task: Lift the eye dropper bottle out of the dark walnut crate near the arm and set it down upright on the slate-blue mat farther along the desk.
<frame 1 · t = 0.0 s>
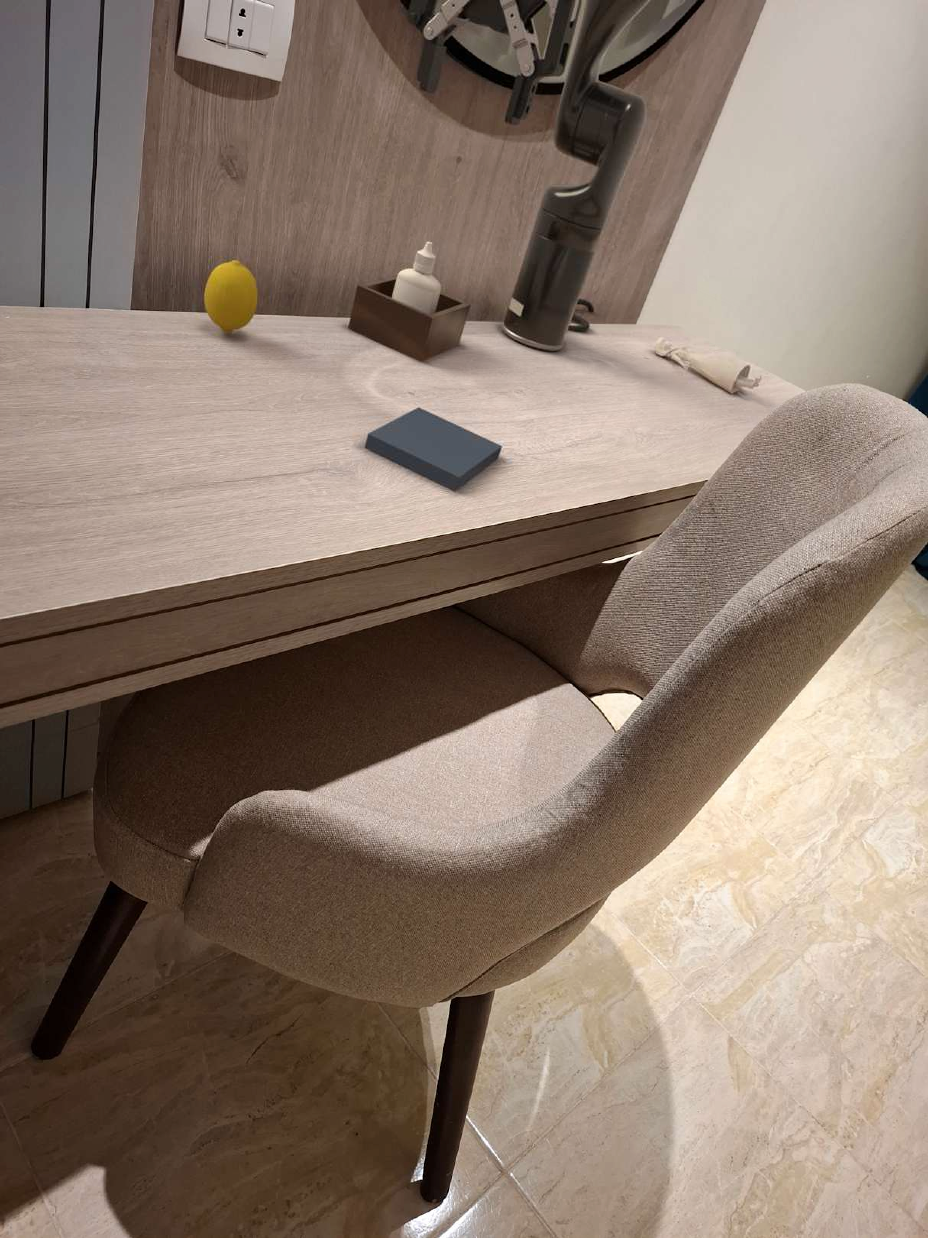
hand: (468, 107, 80), 29 cm above the table, tool pointing down, fingers open, 8 cm apart
mat: (433, 453, 90), on the table
crate: (405, 336, 117), on the table
woman figurine: (699, 375, 144), on the table
eye dropper bottle: (404, 338, 117), resting in crate
lemon: (225, 334, 100), on the table
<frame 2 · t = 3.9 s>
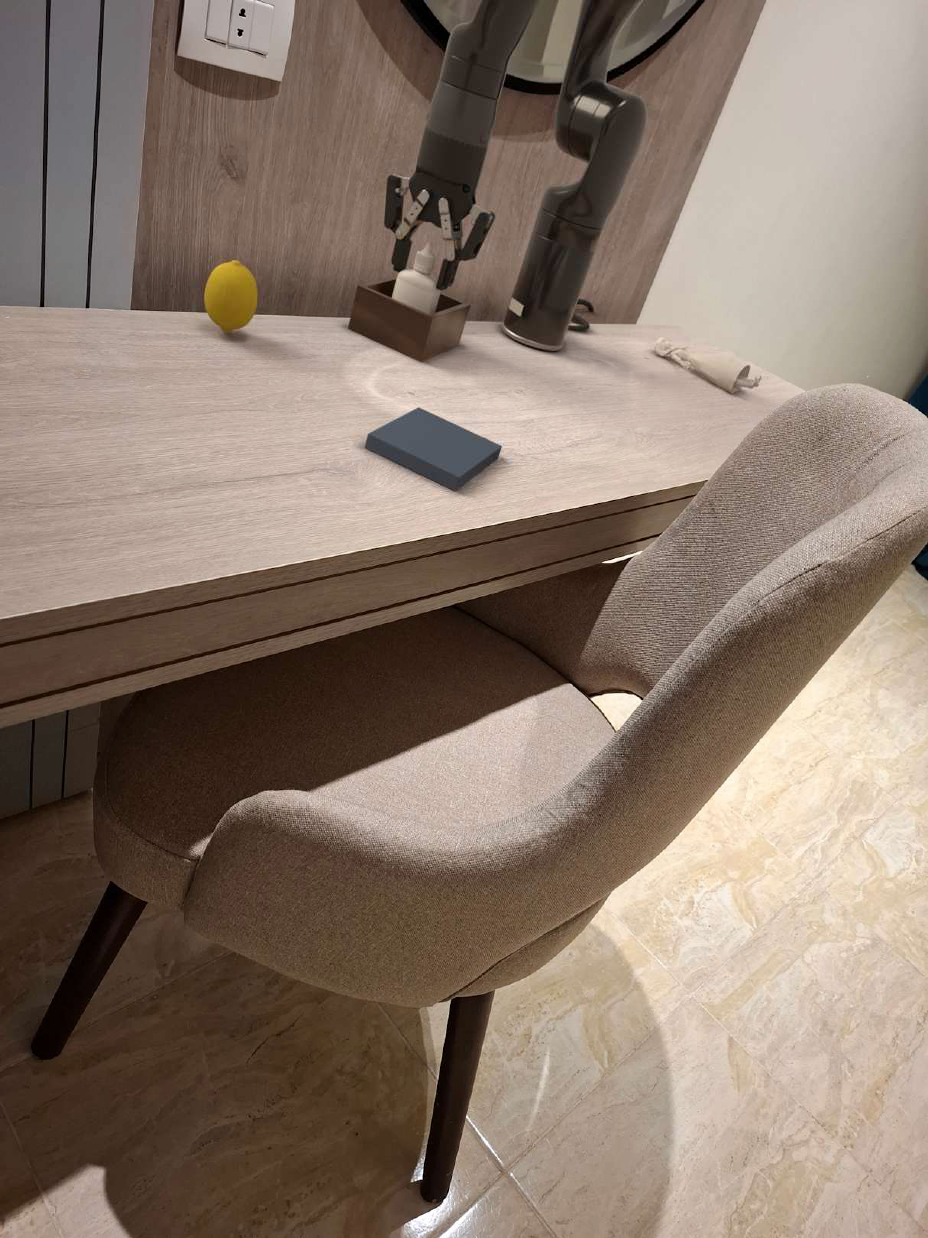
hand: (419, 279, 113), 8 cm above the table, tool pointing down, fingers closed on eye dropper bottle, 5 cm apart
eye dropper bottle: (404, 338, 117), resting in crate, touching gripper
everything else where it was.
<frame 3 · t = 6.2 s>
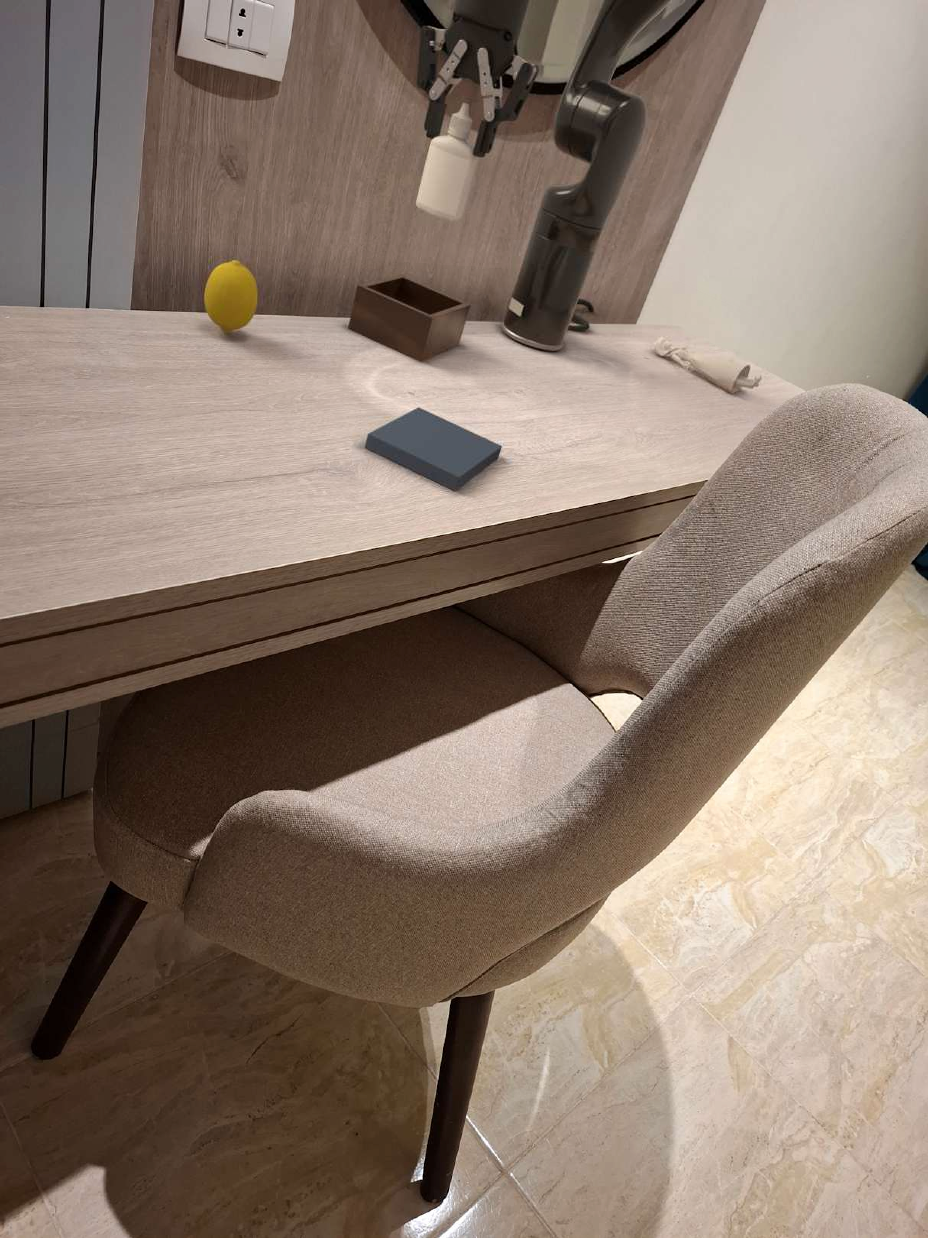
hand: (455, 146, 104), 23 cm above the table, tool pointing down, fingers closed on eye dropper bottle, 5 cm apart
eye dropper bottle: (437, 215, 108), point 15 cm above the table, touching gripper
everything else where it was.
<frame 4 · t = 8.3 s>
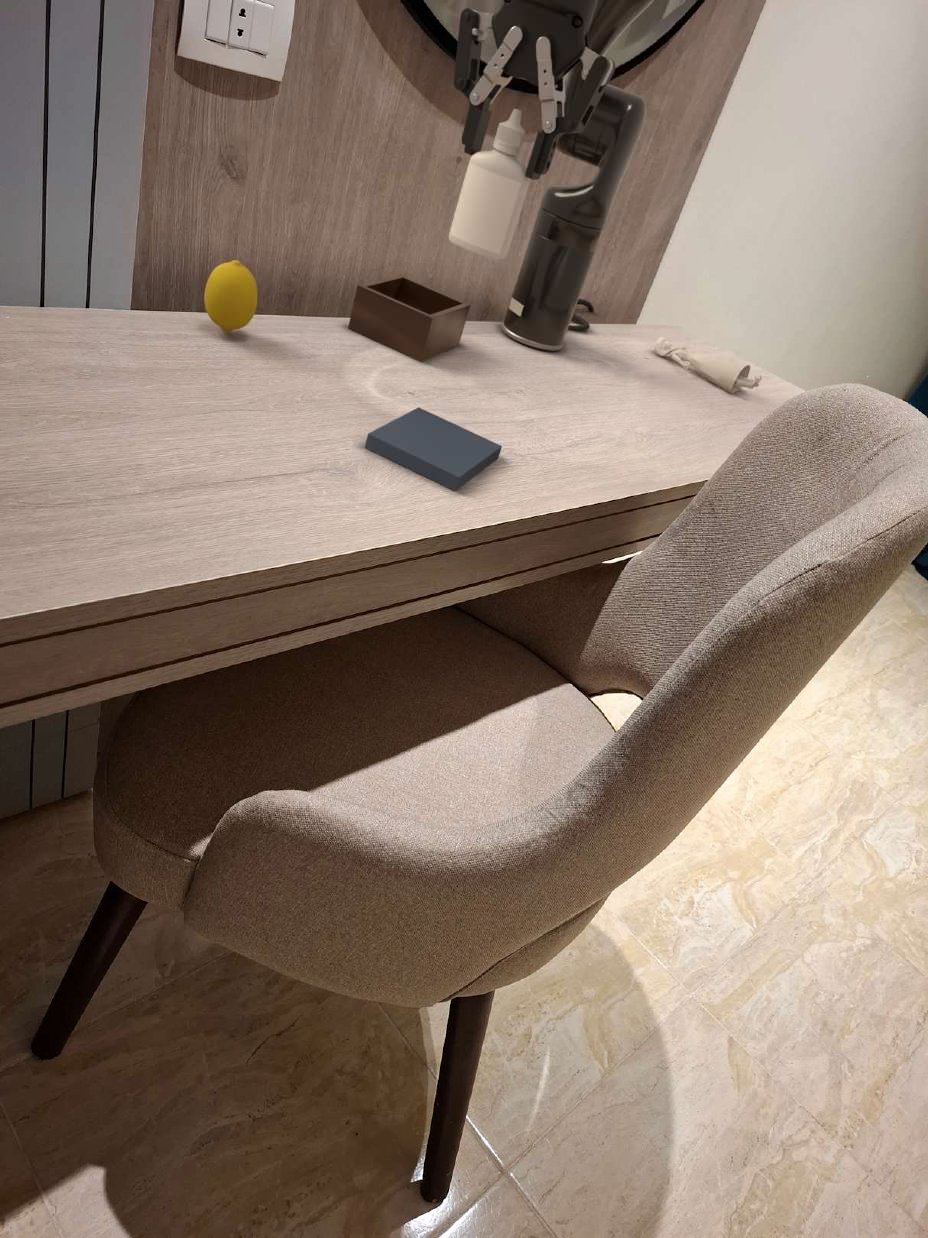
hand: (501, 165, 80), 26 cm above the table, tool pointing down, fingers closed on eye dropper bottle, 5 cm apart
eye dropper bottle: (475, 252, 84), point 18 cm above the table, touching gripper
everything else where it was.
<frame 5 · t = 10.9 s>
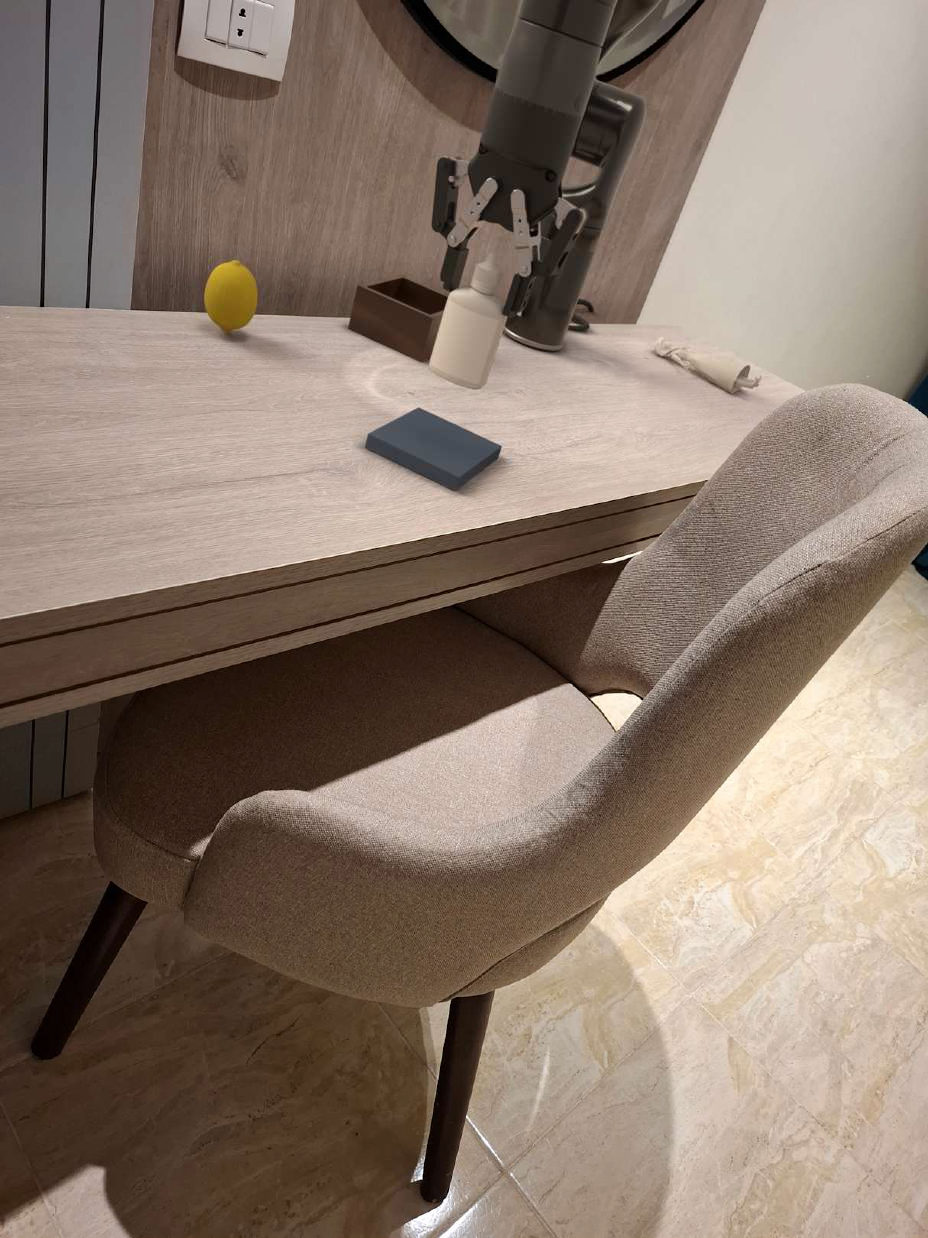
hand: (479, 301, 82), 15 cm above the table, tool pointing down, fingers closed on eye dropper bottle, 5 cm apart
eye dropper bottle: (455, 380, 86), point 8 cm above the table, touching gripper
everything else where it was.
when the fingers open (9 cm above the table, at t = 12.9 s): eye dropper bottle stays where it is, resting on mat.
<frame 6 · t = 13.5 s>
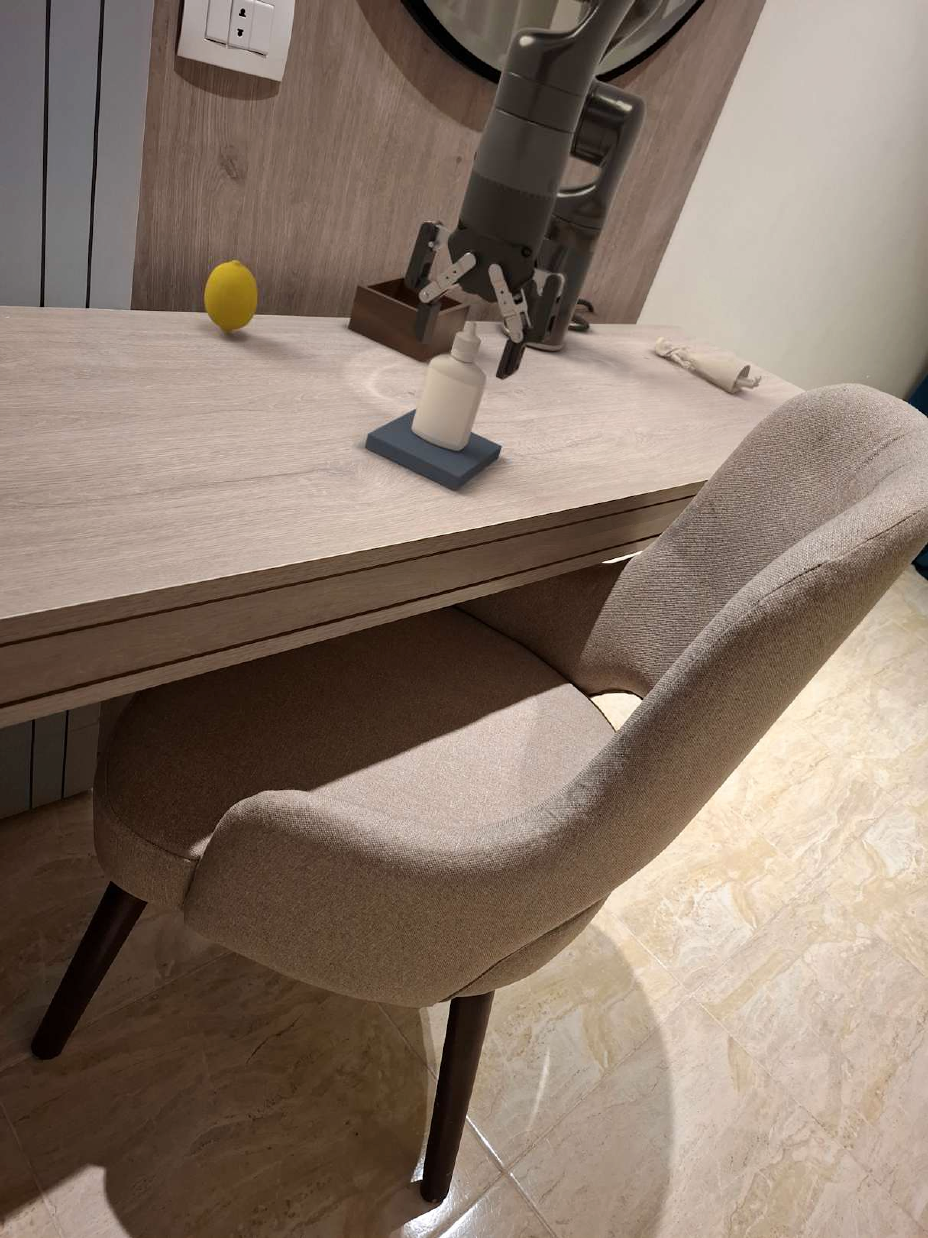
hand: (461, 359, 85), 10 cm above the table, tool pointing down, fingers open, 8 cm apart
eye dropper bottle: (437, 441, 90), point 1 cm above the table, touching mat
everything else where it was.
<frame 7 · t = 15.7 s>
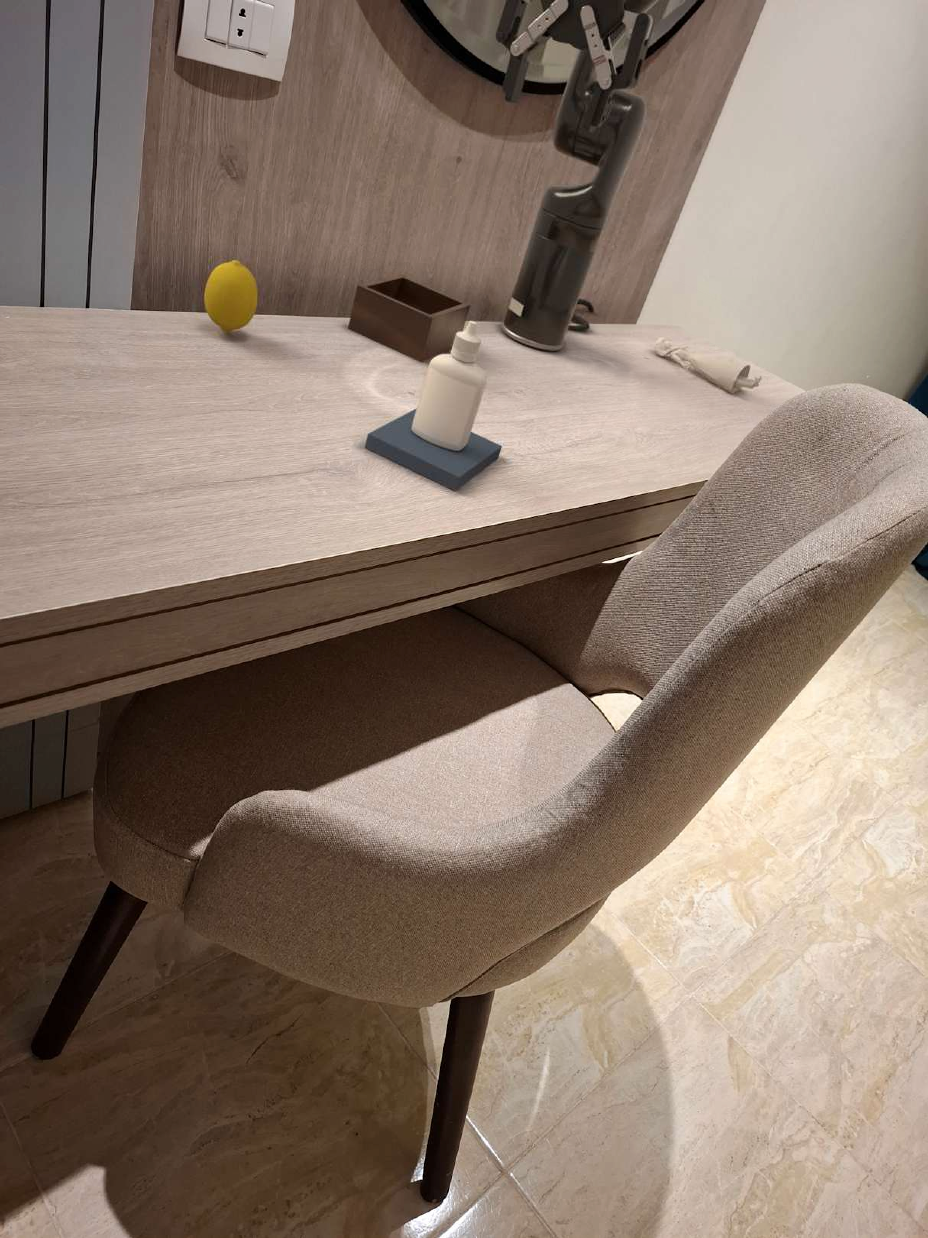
hand: (549, 115, 89), 30 cm above the table, tool pointing down, fingers open, 8 cm apart
nothing on the table moved.
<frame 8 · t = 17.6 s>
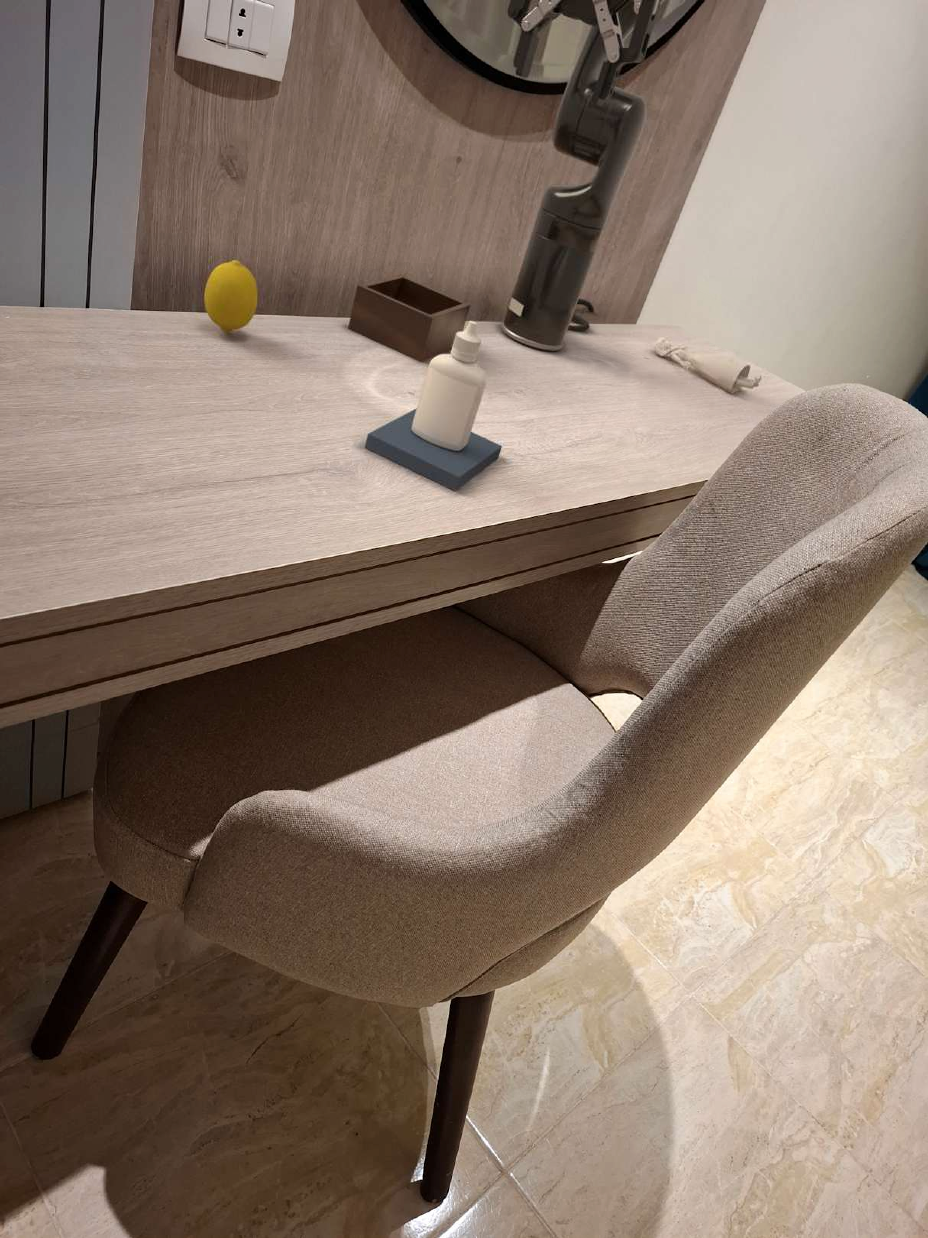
hand: (558, 89, 92), 32 cm above the table, tool pointing down, fingers open, 8 cm apart
nothing on the table moved.
at the end: eye dropper bottle inside the target area on the mat (0.1 cm from its centre), point 1.3 cm above the mat's base; eye dropper bottle tilted 0°; the gripper is holding nothing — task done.
